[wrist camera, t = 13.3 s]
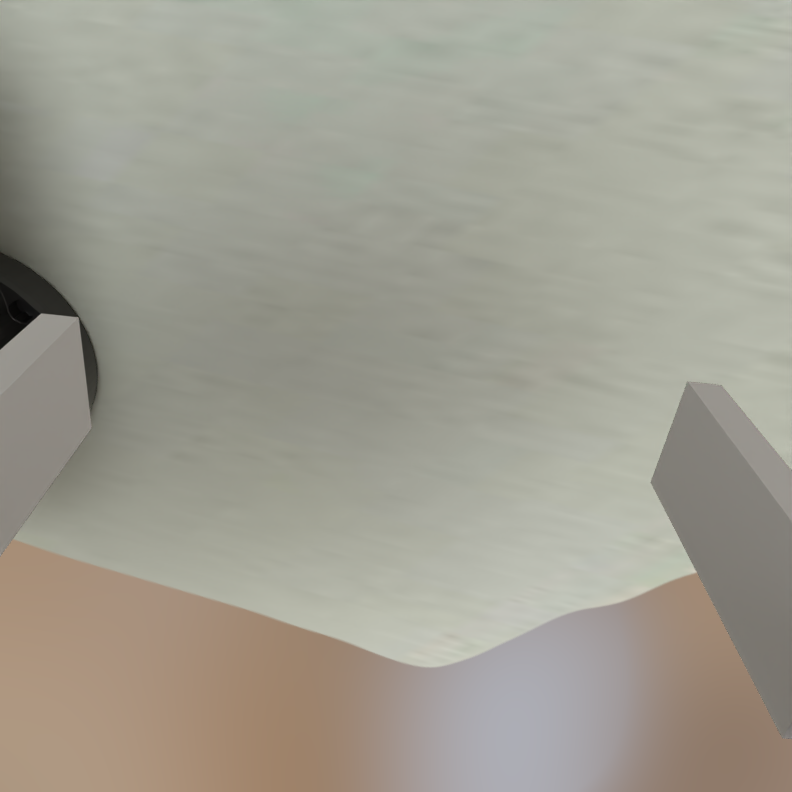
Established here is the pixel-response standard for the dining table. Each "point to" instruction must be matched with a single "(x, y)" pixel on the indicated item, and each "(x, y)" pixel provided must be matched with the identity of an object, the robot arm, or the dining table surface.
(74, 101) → the dining table surface
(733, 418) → the robot arm
